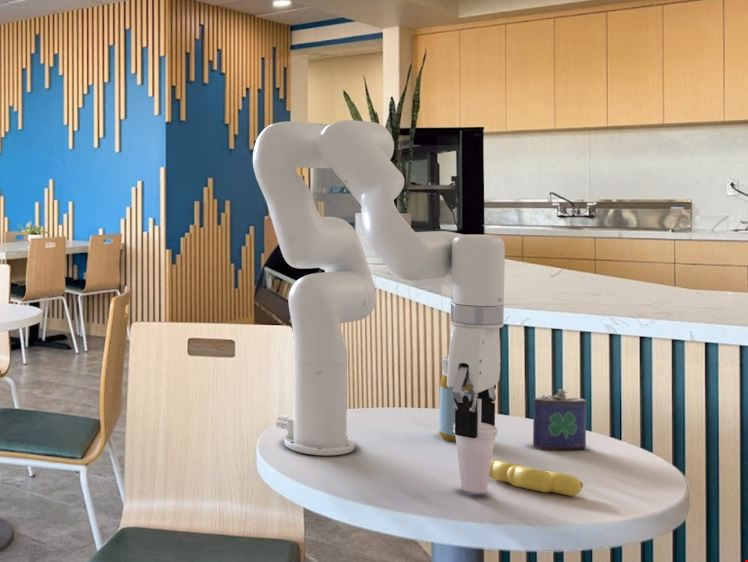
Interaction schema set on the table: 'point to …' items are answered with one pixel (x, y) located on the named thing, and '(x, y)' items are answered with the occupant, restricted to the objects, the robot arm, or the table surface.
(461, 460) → the smoothie
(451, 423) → the bottle
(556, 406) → the flask
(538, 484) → the yellow lumpy bar
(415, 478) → the table surface
